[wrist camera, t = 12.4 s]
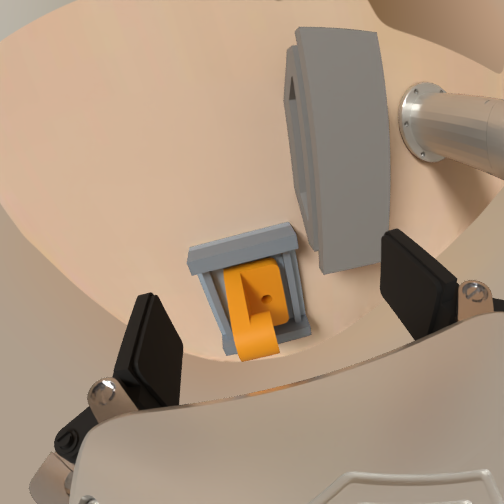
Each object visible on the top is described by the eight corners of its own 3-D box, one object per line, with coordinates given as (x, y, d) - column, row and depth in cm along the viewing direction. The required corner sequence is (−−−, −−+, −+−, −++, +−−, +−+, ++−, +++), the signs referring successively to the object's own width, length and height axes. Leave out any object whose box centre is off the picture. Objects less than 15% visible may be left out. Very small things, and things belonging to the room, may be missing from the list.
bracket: (286, 311, 44) (304, 368, 33) (241, 322, 44) (249, 382, 34) (274, 253, 39) (294, 307, 28) (223, 265, 39) (226, 324, 28)
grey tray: (288, 221, 38) (296, 234, 35) (304, 318, 47) (311, 334, 43) (189, 247, 38) (186, 262, 35) (225, 338, 47) (226, 355, 43)
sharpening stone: (275, 51, 28) (299, 26, 18) (334, 50, 28) (376, 32, 18) (298, 233, 39) (323, 274, 30) (349, 224, 40) (385, 260, 30)
